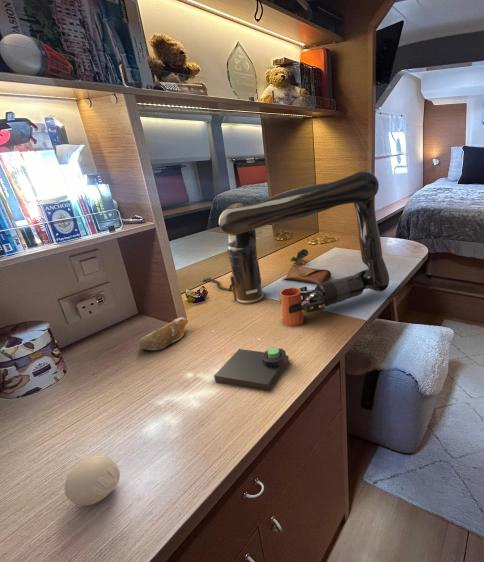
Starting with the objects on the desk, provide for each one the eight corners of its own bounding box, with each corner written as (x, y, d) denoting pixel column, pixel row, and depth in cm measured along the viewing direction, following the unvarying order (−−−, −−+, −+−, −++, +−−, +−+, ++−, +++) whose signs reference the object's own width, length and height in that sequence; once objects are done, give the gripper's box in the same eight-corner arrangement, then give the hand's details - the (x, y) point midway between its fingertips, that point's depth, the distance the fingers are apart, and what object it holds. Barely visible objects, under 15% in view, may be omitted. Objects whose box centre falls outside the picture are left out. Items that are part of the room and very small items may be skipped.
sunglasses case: (281, 279, 135) (284, 262, 135) (290, 281, 141) (293, 266, 142) (322, 285, 128) (325, 267, 129) (329, 287, 134) (332, 270, 135)
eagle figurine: (309, 265, 146) (312, 255, 153) (298, 253, 143) (302, 243, 150) (296, 273, 149) (299, 263, 156) (285, 262, 146) (289, 252, 153)
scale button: (266, 358, 82) (265, 353, 82) (271, 352, 85) (270, 346, 84) (276, 360, 82) (275, 354, 81) (281, 353, 84) (280, 348, 84)
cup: (280, 324, 103) (276, 295, 99) (288, 315, 109) (285, 286, 105) (299, 327, 101) (295, 297, 97) (306, 317, 107) (303, 288, 103)
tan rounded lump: (103, 518, 52) (88, 489, 49) (63, 511, 53) (46, 482, 50) (135, 477, 58) (123, 449, 55) (98, 472, 59) (85, 444, 57)
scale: (215, 382, 80) (212, 369, 79) (241, 354, 90) (238, 342, 89) (270, 391, 76) (268, 378, 75) (290, 361, 86) (289, 349, 85)
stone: (129, 332, 90) (178, 306, 101) (133, 349, 94) (180, 321, 105) (146, 345, 88) (195, 316, 99) (150, 361, 91) (196, 332, 102)
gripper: (322, 274, 113) (274, 286, 106) (343, 289, 102) (292, 303, 94) (323, 294, 116) (277, 307, 109) (345, 310, 105) (295, 327, 97)
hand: (284, 305), depth 102 cm, fingers closed on cup, 6 cm apart
